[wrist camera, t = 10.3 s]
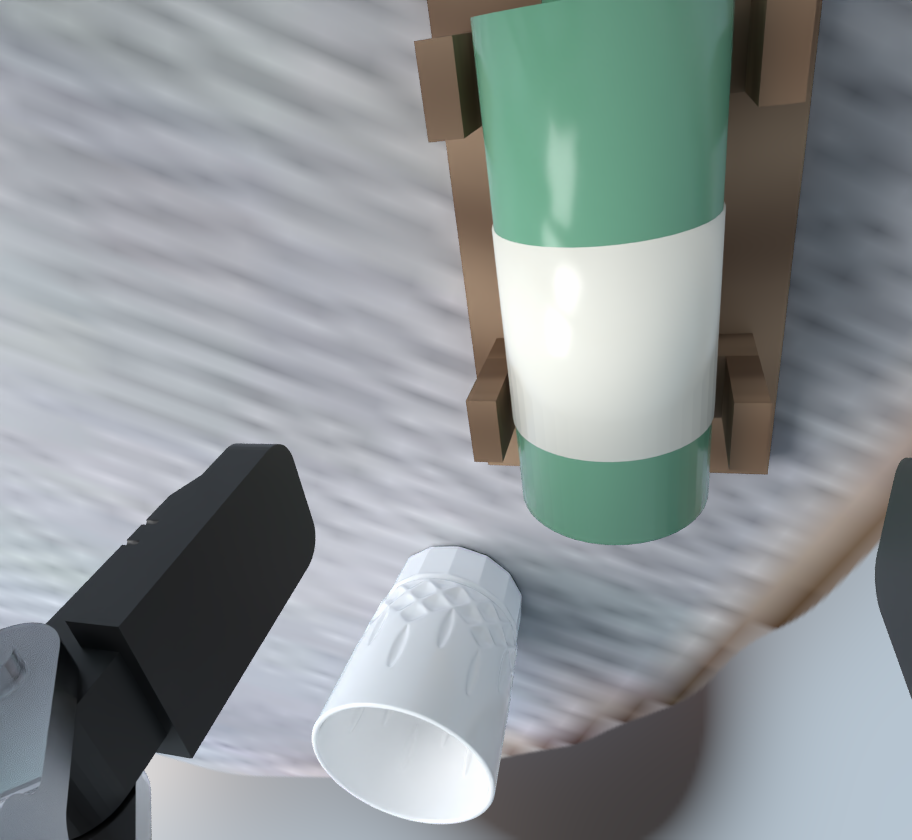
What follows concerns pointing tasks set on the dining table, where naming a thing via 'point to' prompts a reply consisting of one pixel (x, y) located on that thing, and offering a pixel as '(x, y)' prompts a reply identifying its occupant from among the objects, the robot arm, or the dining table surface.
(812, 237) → the dining table surface
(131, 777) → the robot arm
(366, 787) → the white cup
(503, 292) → the green bottle
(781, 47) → the bottle rest
